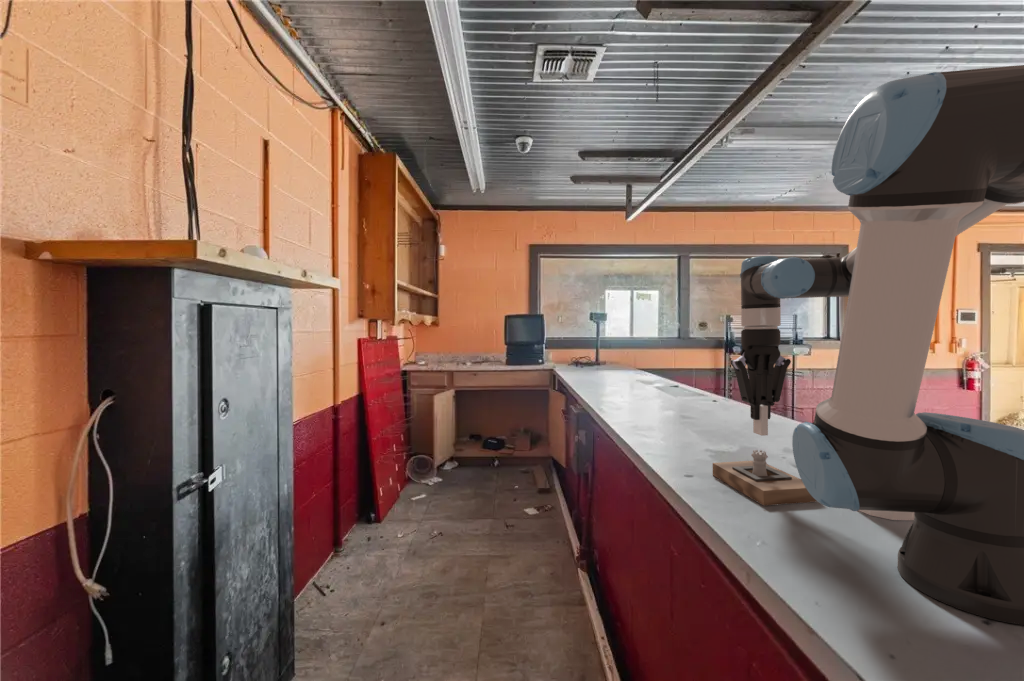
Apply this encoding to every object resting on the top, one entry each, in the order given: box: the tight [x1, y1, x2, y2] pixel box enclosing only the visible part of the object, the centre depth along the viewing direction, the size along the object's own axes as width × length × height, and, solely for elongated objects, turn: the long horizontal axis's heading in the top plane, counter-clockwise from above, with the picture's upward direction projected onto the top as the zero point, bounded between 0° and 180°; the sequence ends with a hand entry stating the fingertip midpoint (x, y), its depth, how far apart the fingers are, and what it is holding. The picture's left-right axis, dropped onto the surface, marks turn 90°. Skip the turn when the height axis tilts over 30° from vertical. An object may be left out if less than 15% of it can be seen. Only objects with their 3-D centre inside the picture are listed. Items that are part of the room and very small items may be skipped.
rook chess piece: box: [751, 449, 769, 476], centre depth 96 cm, size 4×4×8 cm
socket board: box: [712, 460, 819, 506], centre depth 96 cm, size 18×12×4 cm, turn 6°
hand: (760, 433), depth 96 cm, fingers closed
